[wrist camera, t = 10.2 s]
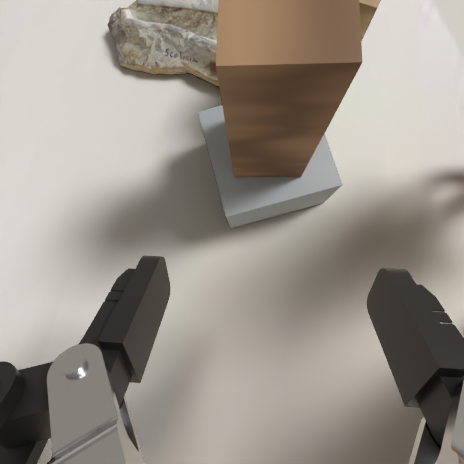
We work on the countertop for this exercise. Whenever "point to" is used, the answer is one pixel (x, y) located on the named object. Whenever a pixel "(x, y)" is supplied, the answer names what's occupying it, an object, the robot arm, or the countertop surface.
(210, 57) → the fossil
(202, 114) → the base block
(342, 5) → the walnut block
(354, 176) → the countertop surface
